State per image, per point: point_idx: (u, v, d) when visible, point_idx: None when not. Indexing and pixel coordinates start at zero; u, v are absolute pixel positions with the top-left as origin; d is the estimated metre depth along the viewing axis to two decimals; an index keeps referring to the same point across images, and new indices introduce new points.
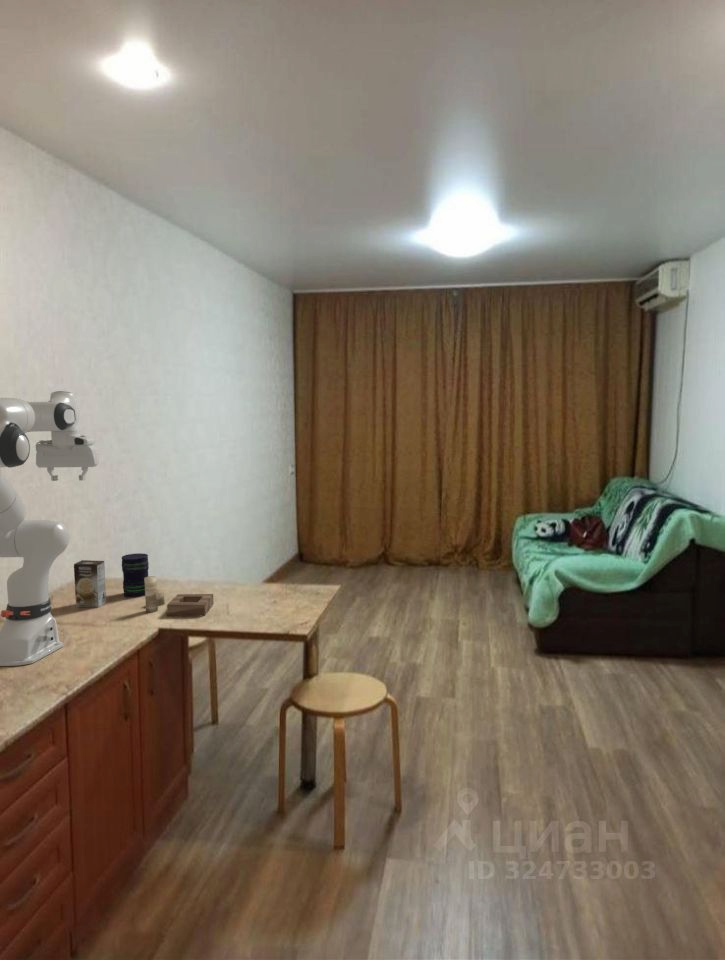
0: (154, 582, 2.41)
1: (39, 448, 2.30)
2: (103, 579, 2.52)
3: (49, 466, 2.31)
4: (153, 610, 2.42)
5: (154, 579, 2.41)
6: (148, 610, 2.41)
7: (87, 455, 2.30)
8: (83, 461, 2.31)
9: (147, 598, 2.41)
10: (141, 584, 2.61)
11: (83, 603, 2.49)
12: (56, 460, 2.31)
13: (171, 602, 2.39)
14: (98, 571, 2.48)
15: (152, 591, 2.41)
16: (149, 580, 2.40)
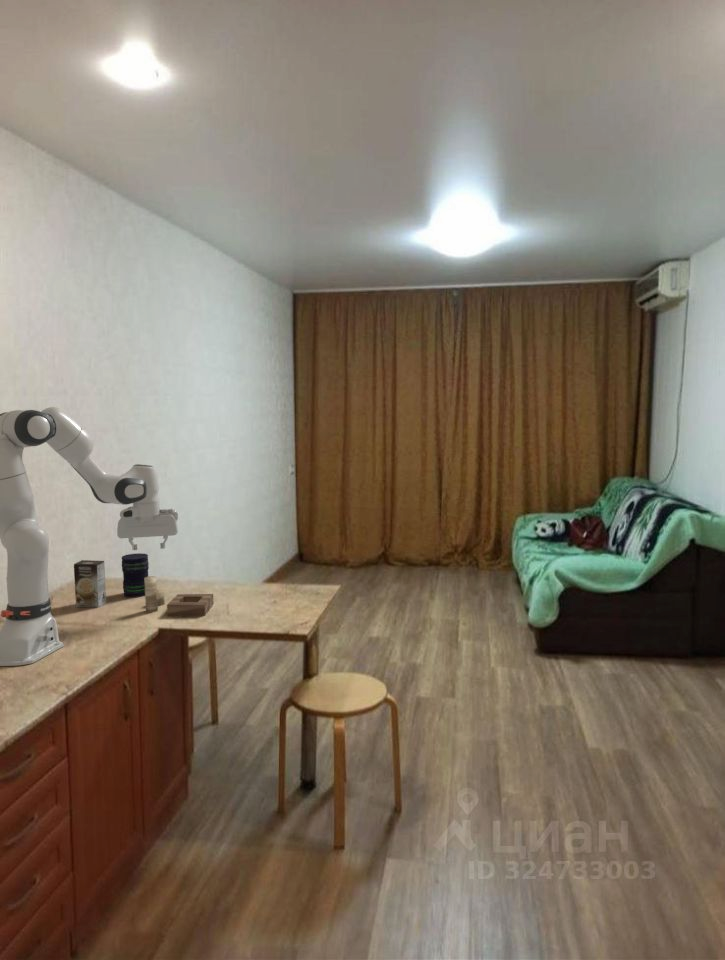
0: (154, 582, 2.41)
1: None
2: (103, 579, 2.52)
3: None
4: (153, 610, 2.42)
5: (154, 579, 2.41)
6: (148, 610, 2.41)
7: None
8: None
9: (147, 598, 2.41)
10: (141, 584, 2.61)
11: (83, 603, 2.49)
12: None
13: (171, 602, 2.39)
14: (98, 571, 2.48)
15: (152, 591, 2.41)
16: (149, 580, 2.40)
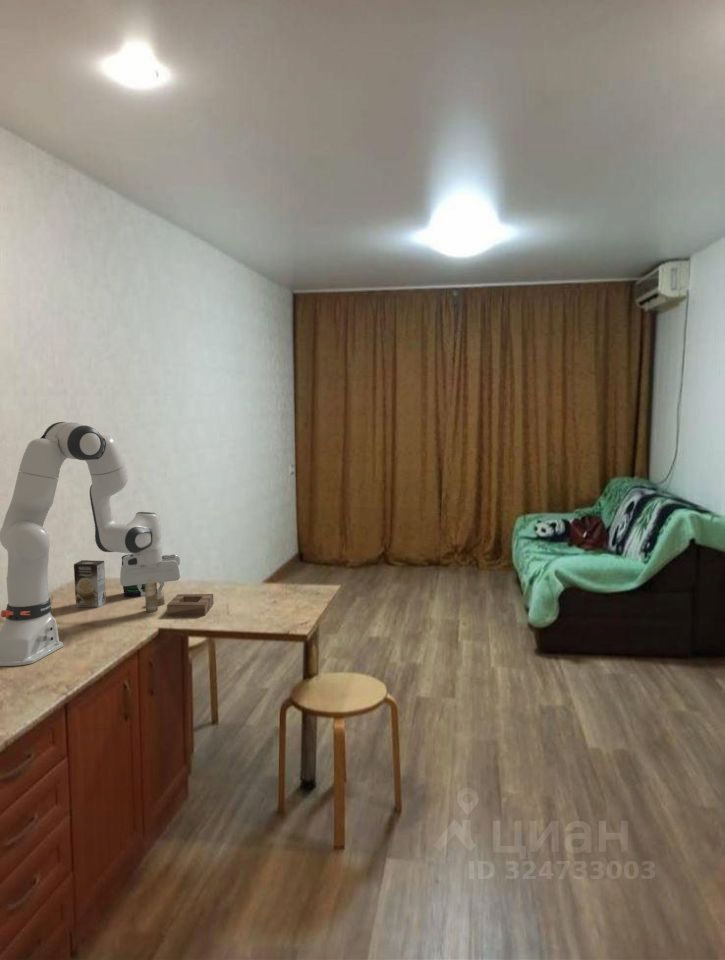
0: None
1: None
2: (103, 579, 2.52)
3: None
4: (153, 610, 2.42)
5: None
6: (148, 610, 2.41)
7: None
8: None
9: (147, 598, 2.41)
10: None
11: (83, 603, 2.49)
12: None
13: (171, 602, 2.39)
14: (98, 571, 2.48)
15: (152, 591, 2.41)
16: (149, 580, 2.40)
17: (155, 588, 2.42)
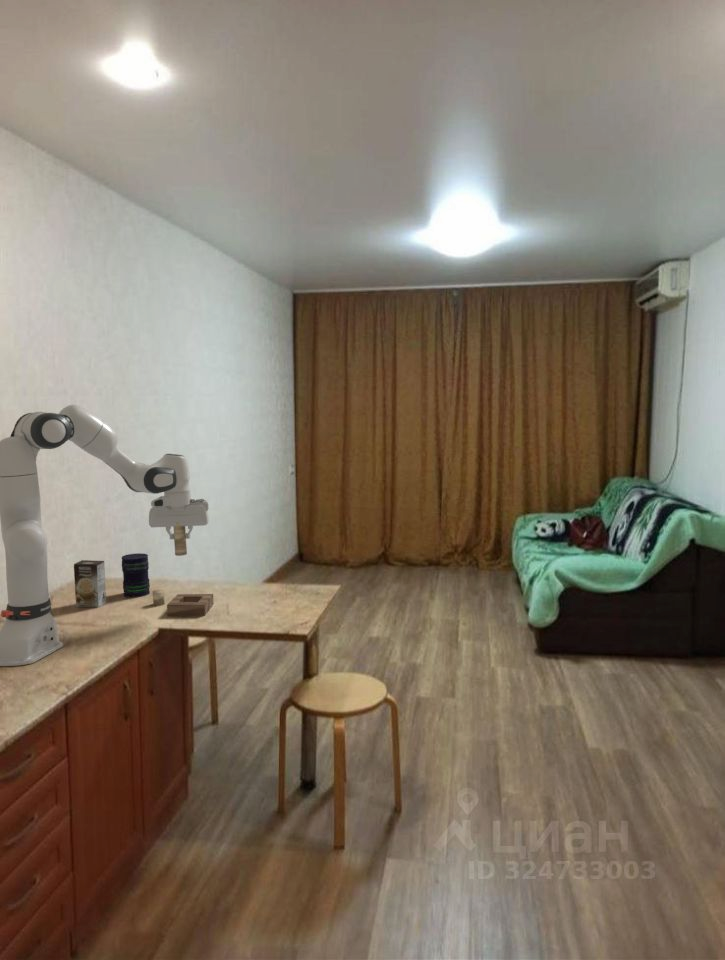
0: None
1: None
2: (103, 579, 2.52)
3: None
4: (180, 554, 2.39)
5: None
6: (176, 553, 2.40)
7: None
8: None
9: (175, 541, 2.39)
10: (141, 584, 2.61)
11: (83, 603, 2.49)
12: None
13: (171, 602, 2.39)
14: (98, 571, 2.48)
15: (179, 534, 2.38)
16: (176, 523, 2.38)
17: (183, 532, 2.39)
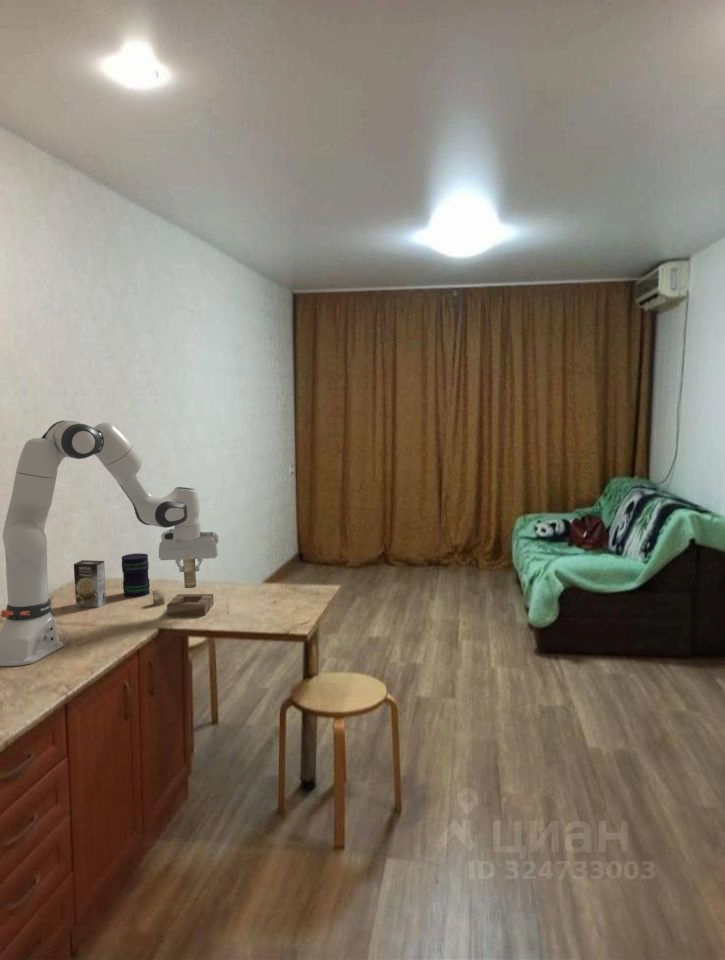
0: None
1: None
2: (103, 579, 2.52)
3: None
4: (190, 586, 2.40)
5: None
6: (185, 586, 2.41)
7: None
8: None
9: (185, 574, 2.40)
10: (141, 584, 2.61)
11: (83, 603, 2.49)
12: None
13: (171, 602, 2.39)
14: (98, 571, 2.48)
15: (189, 567, 2.39)
16: (186, 556, 2.39)
17: (192, 564, 2.40)
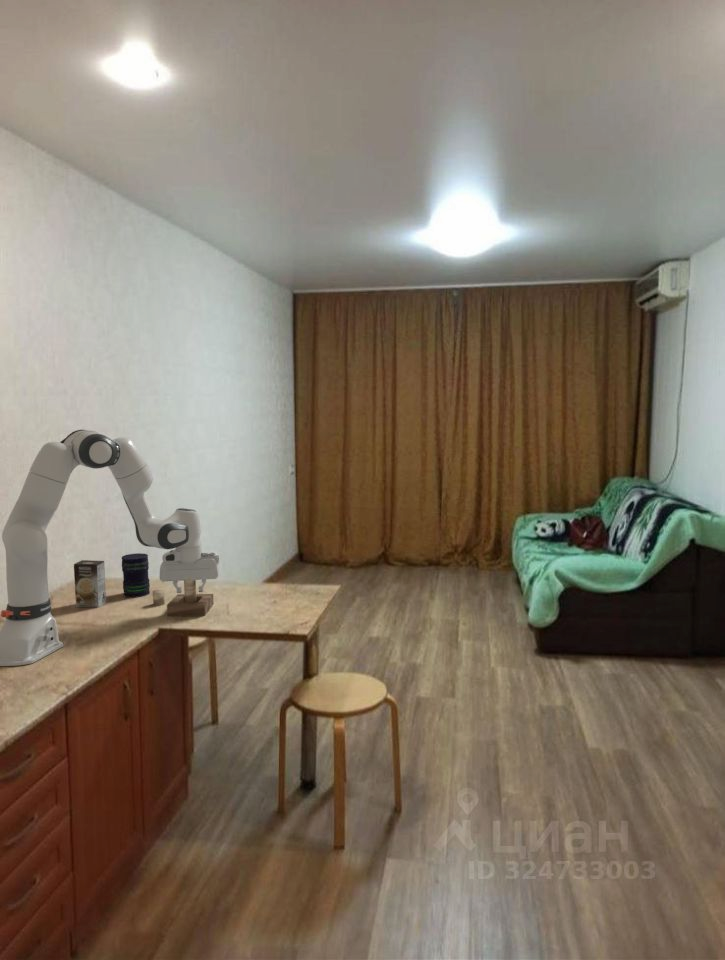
0: (192, 582, 2.41)
1: None
2: (103, 579, 2.52)
3: None
4: None
5: None
6: None
7: None
8: None
9: (185, 597, 2.41)
10: (141, 584, 2.61)
11: (83, 603, 2.49)
12: None
13: (171, 602, 2.39)
14: (98, 571, 2.48)
15: (190, 590, 2.40)
16: (187, 580, 2.40)
17: (193, 588, 2.41)
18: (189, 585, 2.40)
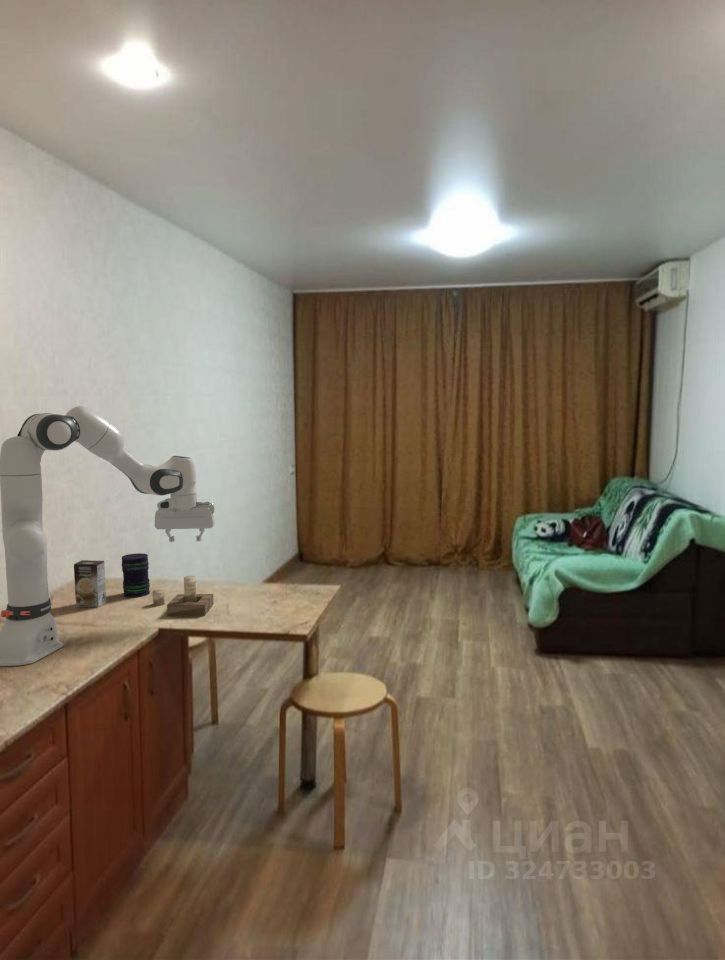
0: (192, 582, 2.41)
1: None
2: (103, 579, 2.52)
3: None
4: None
5: (192, 579, 2.41)
6: None
7: None
8: None
9: (185, 597, 2.41)
10: (141, 584, 2.61)
11: (83, 603, 2.49)
12: None
13: (171, 602, 2.39)
14: (98, 571, 2.48)
15: (190, 590, 2.40)
16: (187, 580, 2.40)
17: (193, 588, 2.41)
18: (189, 585, 2.40)
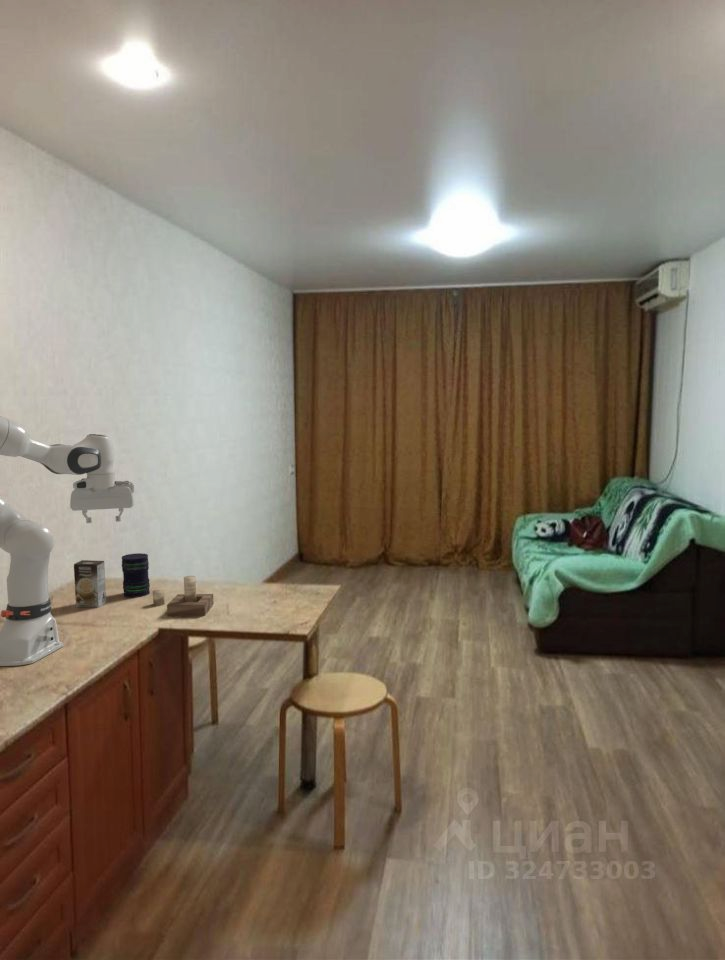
0: (192, 582, 2.41)
1: None
2: (103, 579, 2.52)
3: None
4: None
5: (192, 579, 2.41)
6: None
7: None
8: None
9: (185, 597, 2.41)
10: (141, 584, 2.61)
11: (83, 603, 2.49)
12: None
13: (171, 602, 2.39)
14: (98, 571, 2.48)
15: (190, 590, 2.40)
16: (187, 580, 2.40)
17: (193, 588, 2.41)
18: (189, 585, 2.40)
